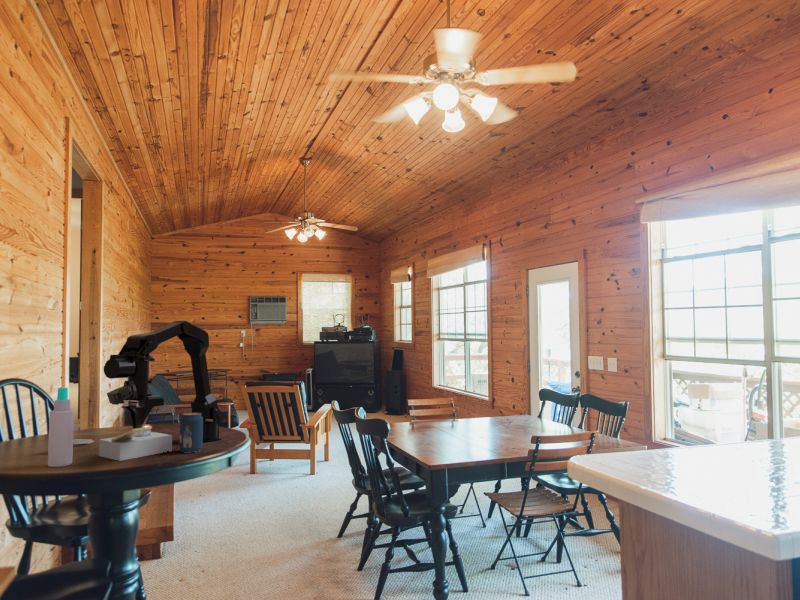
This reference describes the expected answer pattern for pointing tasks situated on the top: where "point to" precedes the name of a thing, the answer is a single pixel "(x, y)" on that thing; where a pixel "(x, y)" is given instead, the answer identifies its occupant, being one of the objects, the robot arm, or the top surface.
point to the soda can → (191, 432)
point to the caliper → (82, 441)
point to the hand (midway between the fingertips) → (136, 429)
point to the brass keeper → (133, 433)
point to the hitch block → (135, 446)
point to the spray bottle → (61, 431)
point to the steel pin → (145, 432)
